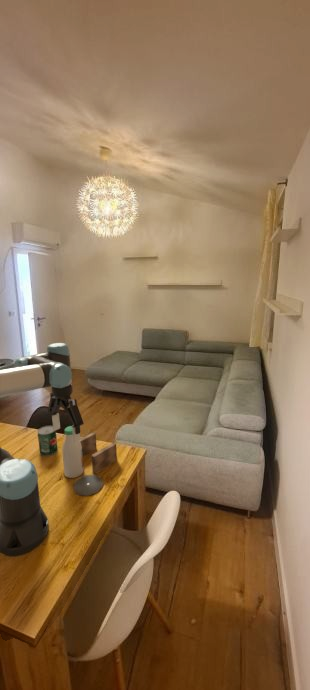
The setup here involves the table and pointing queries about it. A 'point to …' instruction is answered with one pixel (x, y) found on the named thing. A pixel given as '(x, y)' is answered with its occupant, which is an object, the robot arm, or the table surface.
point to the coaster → (88, 485)
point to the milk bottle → (72, 455)
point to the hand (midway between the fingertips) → (66, 434)
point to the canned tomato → (47, 441)
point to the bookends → (98, 453)
